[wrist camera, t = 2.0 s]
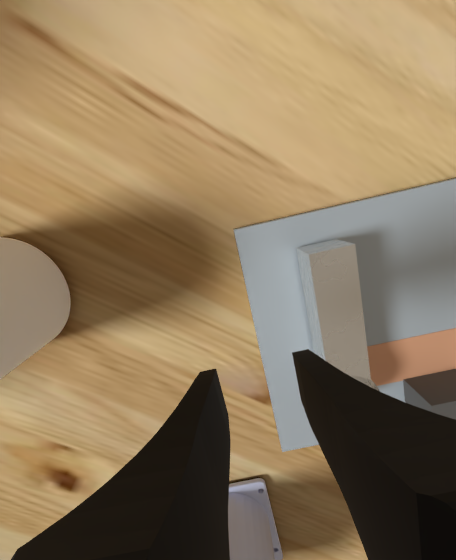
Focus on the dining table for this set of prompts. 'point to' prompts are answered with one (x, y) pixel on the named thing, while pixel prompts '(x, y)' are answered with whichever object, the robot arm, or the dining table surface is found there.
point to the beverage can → (28, 302)
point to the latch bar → (335, 306)
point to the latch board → (363, 297)
